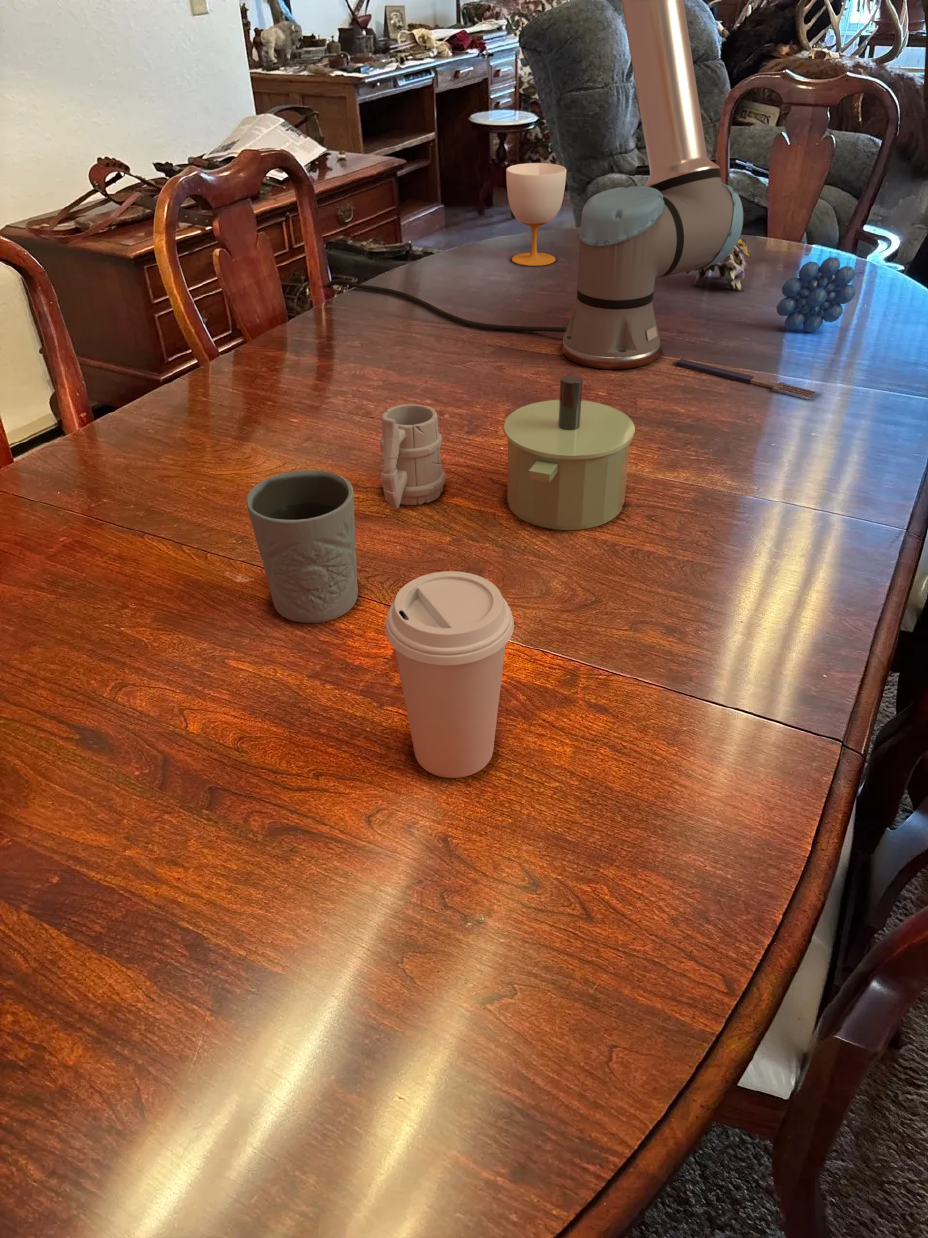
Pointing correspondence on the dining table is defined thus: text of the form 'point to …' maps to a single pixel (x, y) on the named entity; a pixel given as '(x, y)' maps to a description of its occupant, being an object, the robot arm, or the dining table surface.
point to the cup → (535, 202)
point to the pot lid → (569, 426)
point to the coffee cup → (450, 667)
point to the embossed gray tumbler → (307, 543)
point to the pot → (566, 488)
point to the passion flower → (731, 266)
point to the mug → (411, 455)
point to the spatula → (747, 379)
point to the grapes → (816, 294)
